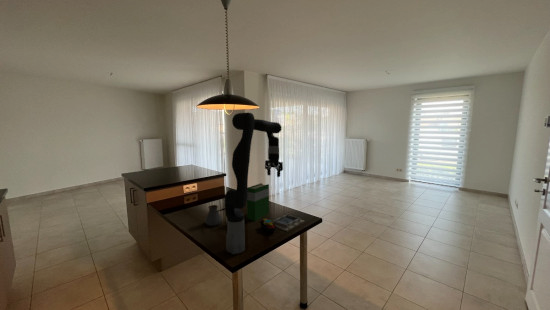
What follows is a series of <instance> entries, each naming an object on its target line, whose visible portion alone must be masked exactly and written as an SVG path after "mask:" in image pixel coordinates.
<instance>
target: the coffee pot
mask: <svg viewBox="0 0 550 310" xmlns="http://www.w3.org/2000/svg"><path fill="white" fill-rule="evenodd" d="M218 208H219V206H218V205H216V204H213V205H212V204H211V205H209V206H208V209H209V210H208V213H207V215H206V217H205V220H204V223H205V225H206V226H209V227H216V226H218V225H220V224H221V223H222V222H223V218H222V216H221V215H220V212H221V211H225V207H224V208H223V207H222V208H221V209H218Z"/></svg>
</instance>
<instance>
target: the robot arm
mask: <svg viewBox="0 0 550 310" xmlns="http://www.w3.org/2000/svg"><path fill="white" fill-rule="evenodd" d="M231 122H232V126H233V127H234V128H235V129H236V130H239V131H242V133H241V134H242V135H241V138H240V140H239V142H238V143H237V145H236V146H235V148H234V150H233V152H232V159H231V168H232V171H233V174H234V176H235V179H236V189H234V188H233V189H232V188H231V189H229V190H227V191H226V193H225V196H224V208H225V210H224V211H225V216H226V219H227V221H226V223H227V225H226V226H227V232H226V234H225V245H226V246H225V247H226V250H225V251H226V252H228V253H229V254H231V255H233V256H235V254H236V255H237V254H241V253H243V252H244V251H245V250H246V239H245V237H246V234H245V233H246V231H245V229H246V228H245V227H246V225H245V213H244V212H243V211H242V210H241V209H244V208H245V207H246V206H247V196H248V187H249V185H248V178H249V170H250V169H249V167H250V162H251V161H250V160H251V159H250V158H251V150H252V149H251V148H252V141H253V140H252V139H253V137H254V131H259V132H264V133H266V136H267V140H268V142H267V143H268V145H267V146H268V148H267V160H265V161H264V169H265V170H266V173H267V174H266V175H267V176H271V175H272V174H271V173H272V172H271V169H272V168H274V169H275V170H276V177H277V178H280V177H281V172H282V171H283V170H284V165H283V164H284V163H283V161H279V160H280V145H279V144H280V141H279V140H280V139H279V137H278V136H275V135H274V134H279V133H281V132H282V128H283V127H282V125H281V124H280V122H276V121H268V120H264V119H259V118H258V119H257V118H256V119H255V116H254V114H253V113H251V112H238V113H235V114H234V115H233V117H232V120H231Z"/></svg>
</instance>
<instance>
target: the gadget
mask: <svg viewBox="0 0 550 310" xmlns="http://www.w3.org/2000/svg"><path fill="white" fill-rule="evenodd" d="M272 222H273V220H272V219H268V218H263V219H262V220H260V221H259V224H260V227H261V228H263V229H264V230H266V232H267V233H273V232H275V230H276V229H277V227H276V225H274V224H273V223H272Z"/></svg>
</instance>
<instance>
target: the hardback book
mask: <svg viewBox="0 0 550 310" xmlns="http://www.w3.org/2000/svg"><path fill="white" fill-rule="evenodd" d="M268 213H269V214H270V184H269V183H267V184H263V183H257V184H255V185H251V186H248V196H247V203H246V217H247V218H246V219H247V220H250V221H253V222H256V221H258V220H260V219H261V218H263V217H265V216H267V215H268Z"/></svg>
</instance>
